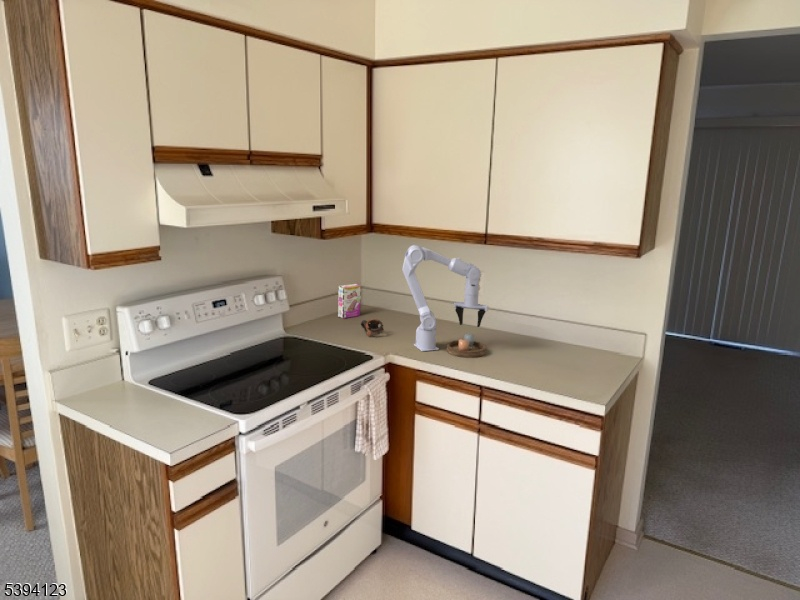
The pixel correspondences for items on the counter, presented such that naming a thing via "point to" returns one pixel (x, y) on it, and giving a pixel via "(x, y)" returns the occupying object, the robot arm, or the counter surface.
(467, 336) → the slate bead
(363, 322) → the pottery mug
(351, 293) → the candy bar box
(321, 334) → the counter surface
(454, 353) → the walnut groove tray
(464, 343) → the peach rounded cylinder
